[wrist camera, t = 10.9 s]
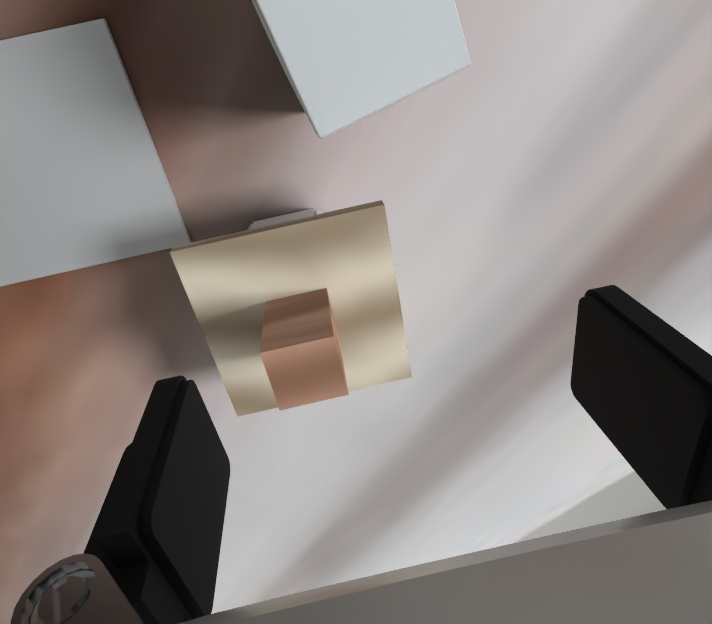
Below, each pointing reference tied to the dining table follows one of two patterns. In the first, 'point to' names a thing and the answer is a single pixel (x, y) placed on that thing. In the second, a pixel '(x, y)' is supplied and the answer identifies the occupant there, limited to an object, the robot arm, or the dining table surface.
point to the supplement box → (362, 53)
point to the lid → (299, 307)
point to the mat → (76, 158)
